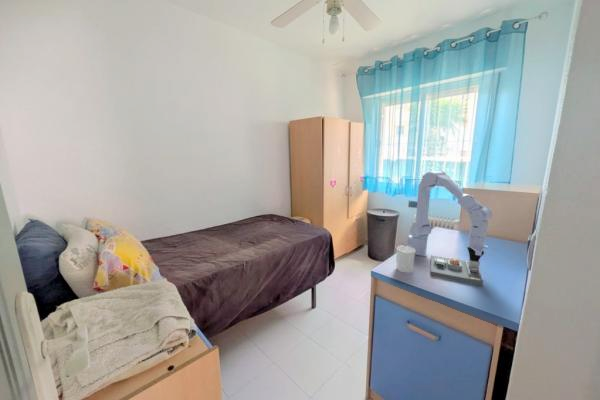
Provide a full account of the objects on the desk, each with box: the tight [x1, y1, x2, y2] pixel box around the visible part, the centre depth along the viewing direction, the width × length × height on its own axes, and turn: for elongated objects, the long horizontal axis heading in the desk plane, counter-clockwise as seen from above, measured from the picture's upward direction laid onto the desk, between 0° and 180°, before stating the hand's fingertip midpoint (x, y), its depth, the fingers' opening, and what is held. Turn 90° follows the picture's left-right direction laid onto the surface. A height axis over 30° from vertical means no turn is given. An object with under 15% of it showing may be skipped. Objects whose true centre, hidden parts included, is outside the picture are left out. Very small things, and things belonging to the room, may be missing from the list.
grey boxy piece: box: [468, 259, 481, 272], centre depth 105 cm, size 4×2×5 cm, turn 62°
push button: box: [450, 258, 459, 265], centre depth 110 cm, size 3×3×3 cm
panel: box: [429, 255, 484, 287], centre depth 110 cm, size 19×18×4 cm
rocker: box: [436, 258, 445, 265], centre depth 112 cm, size 3×6×1 cm, turn 152°
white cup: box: [395, 245, 416, 274], centre depth 112 cm, size 8×8×10 cm
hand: (473, 264), depth 107 cm, fingers closed
